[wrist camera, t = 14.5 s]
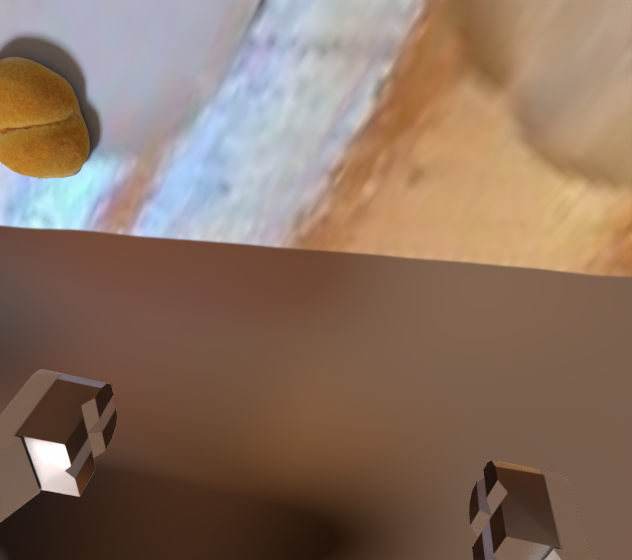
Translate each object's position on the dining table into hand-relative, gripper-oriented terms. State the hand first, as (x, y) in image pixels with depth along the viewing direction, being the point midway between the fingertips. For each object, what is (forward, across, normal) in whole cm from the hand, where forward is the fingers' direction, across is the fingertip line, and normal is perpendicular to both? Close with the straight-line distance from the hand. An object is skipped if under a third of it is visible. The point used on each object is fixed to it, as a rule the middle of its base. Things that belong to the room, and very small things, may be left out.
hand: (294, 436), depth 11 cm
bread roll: (+30, +25, +8) cm, 40 cm away
